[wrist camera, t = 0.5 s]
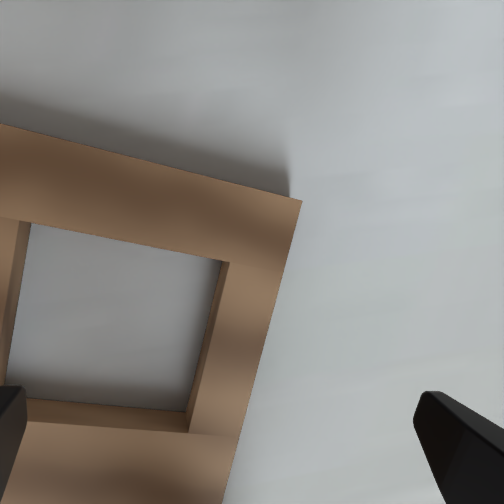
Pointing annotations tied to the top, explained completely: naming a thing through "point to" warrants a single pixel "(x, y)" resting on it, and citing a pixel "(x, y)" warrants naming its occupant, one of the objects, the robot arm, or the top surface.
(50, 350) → the top surface
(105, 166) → the wooden frame
